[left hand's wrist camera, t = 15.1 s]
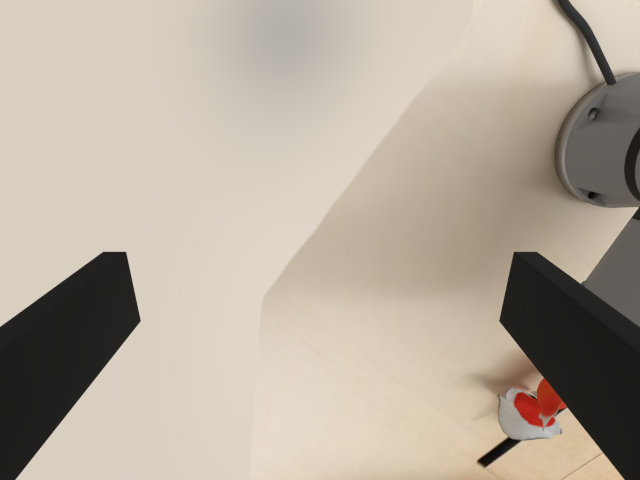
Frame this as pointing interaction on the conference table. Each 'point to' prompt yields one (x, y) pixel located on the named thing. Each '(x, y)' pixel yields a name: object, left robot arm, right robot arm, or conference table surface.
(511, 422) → the fish
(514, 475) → the conference table surface
